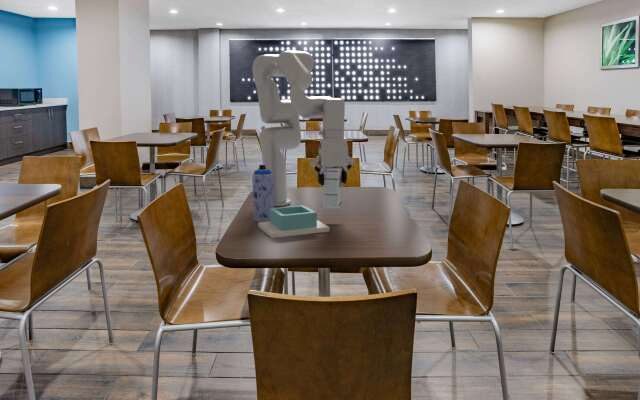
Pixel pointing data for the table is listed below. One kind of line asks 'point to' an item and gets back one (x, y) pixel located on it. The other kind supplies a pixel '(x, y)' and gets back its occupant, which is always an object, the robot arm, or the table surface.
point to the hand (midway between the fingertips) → (332, 183)
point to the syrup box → (332, 187)
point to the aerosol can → (262, 193)
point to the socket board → (292, 222)
